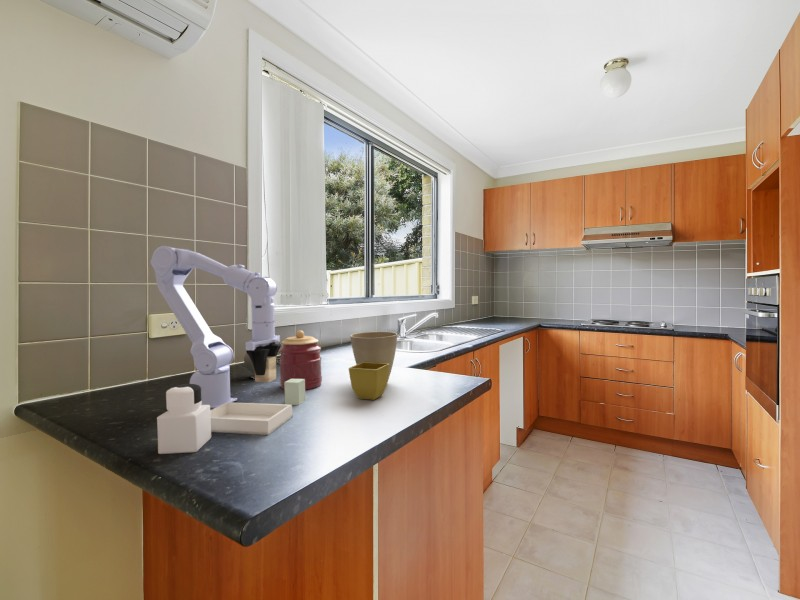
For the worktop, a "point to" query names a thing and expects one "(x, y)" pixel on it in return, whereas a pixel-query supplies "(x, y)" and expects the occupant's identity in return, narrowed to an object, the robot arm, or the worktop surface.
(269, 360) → the maple block
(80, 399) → the worktop surface
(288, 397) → the sage block
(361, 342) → the plant pot
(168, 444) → the medicine bottle
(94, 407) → the worktop surface
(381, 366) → the flower pot
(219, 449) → the worktop surface
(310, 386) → the canister
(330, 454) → the worktop surface
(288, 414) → the serving tray
